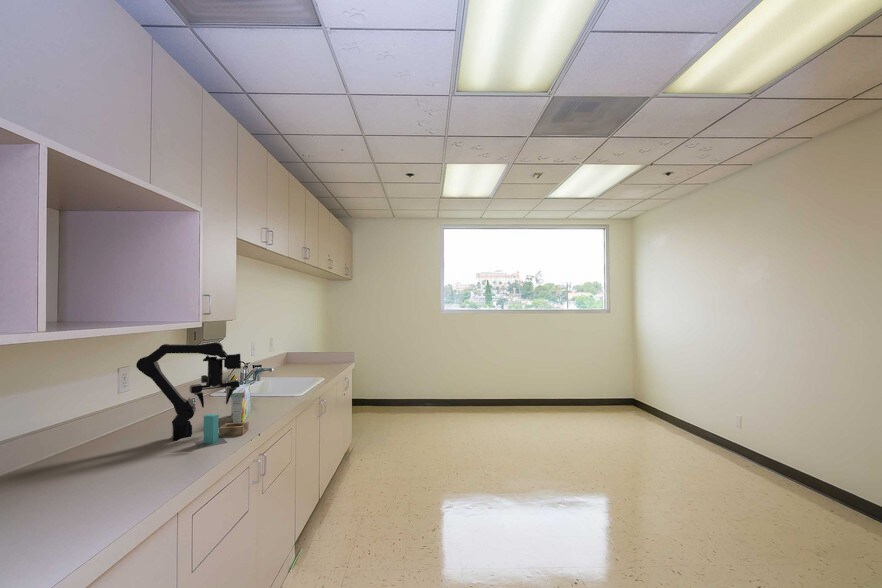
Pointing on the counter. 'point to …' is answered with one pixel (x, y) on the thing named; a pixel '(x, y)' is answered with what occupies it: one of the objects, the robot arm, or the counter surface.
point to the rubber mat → (202, 445)
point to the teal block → (211, 428)
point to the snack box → (240, 403)
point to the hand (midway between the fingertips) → (214, 405)
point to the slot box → (233, 429)
